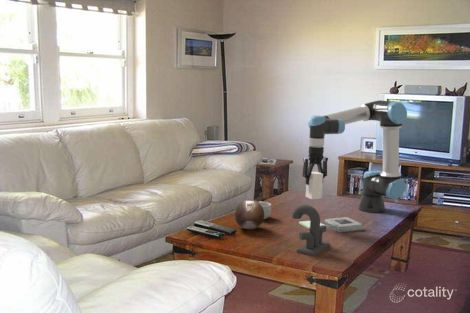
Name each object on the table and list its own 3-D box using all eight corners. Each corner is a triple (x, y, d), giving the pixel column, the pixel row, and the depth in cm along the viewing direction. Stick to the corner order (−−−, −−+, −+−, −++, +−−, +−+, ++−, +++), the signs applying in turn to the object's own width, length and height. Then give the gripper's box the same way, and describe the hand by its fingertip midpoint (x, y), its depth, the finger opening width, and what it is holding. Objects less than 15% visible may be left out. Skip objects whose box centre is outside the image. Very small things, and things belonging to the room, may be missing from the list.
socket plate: (346, 222, 281) (347, 216, 281) (362, 229, 268) (362, 224, 268) (324, 224, 276) (324, 219, 275) (339, 232, 263) (339, 226, 262)
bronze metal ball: (238, 233, 256) (239, 204, 254) (231, 225, 271) (231, 196, 268) (267, 232, 260) (268, 203, 257) (259, 223, 274) (260, 195, 272)
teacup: (269, 221, 279) (269, 207, 277) (249, 219, 281) (249, 205, 279) (272, 214, 292) (273, 200, 291) (253, 213, 294) (253, 199, 293)
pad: (315, 221, 280) (315, 220, 280) (325, 227, 271) (325, 225, 271) (298, 223, 276) (298, 221, 276) (308, 228, 267) (308, 227, 267)
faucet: (300, 239, 251) (302, 198, 248) (330, 246, 242) (333, 204, 239) (281, 249, 236) (283, 206, 233) (313, 256, 228) (315, 212, 224)
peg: (315, 195, 275) (316, 171, 273) (321, 198, 270) (323, 173, 268) (305, 196, 273) (306, 172, 271) (311, 199, 267) (313, 174, 265)
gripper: (328, 144, 274) (325, 187, 278) (296, 145, 267) (294, 189, 270) (336, 146, 267) (333, 190, 271) (303, 147, 260) (301, 193, 264)
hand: (314, 190), depth 271 cm, fingers closed on peg, 6 cm apart
